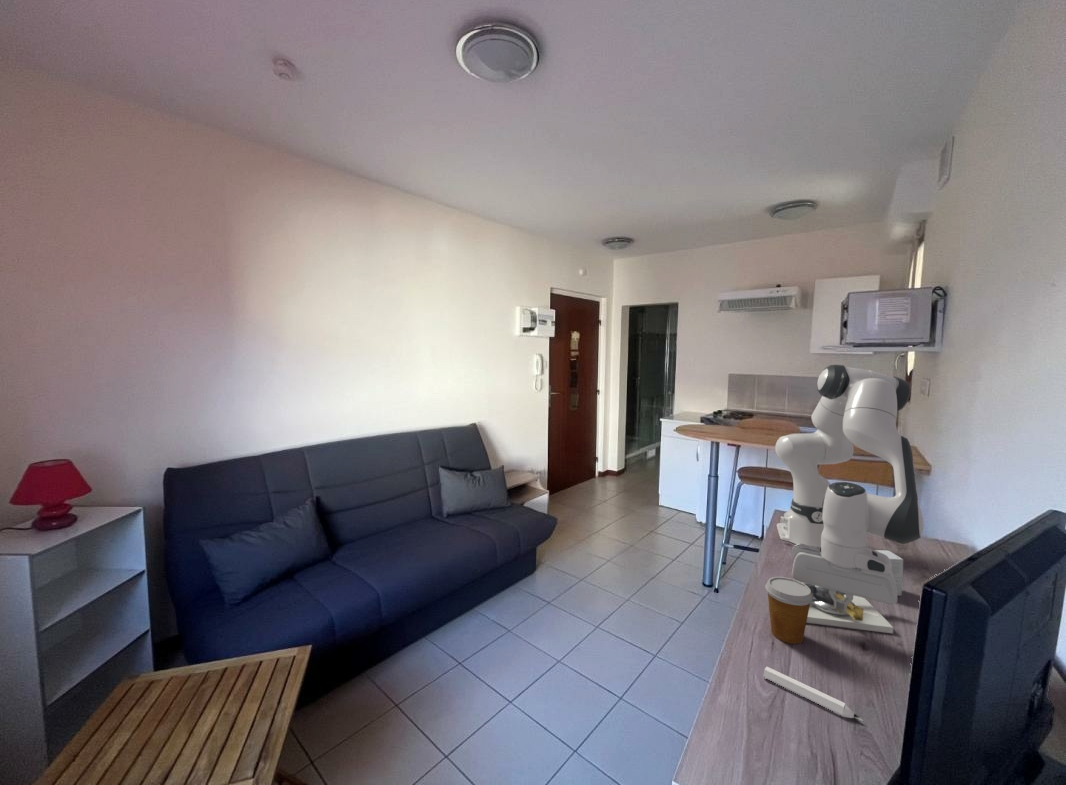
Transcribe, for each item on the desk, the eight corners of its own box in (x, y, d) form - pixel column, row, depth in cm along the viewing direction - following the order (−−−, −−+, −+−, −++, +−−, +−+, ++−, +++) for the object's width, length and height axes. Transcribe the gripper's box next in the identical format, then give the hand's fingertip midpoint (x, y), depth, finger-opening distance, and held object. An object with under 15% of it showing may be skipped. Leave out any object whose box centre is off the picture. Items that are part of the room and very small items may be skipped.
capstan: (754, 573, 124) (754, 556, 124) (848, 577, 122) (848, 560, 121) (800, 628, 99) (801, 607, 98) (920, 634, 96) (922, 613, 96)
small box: (887, 585, 121) (889, 550, 120) (902, 596, 116) (904, 559, 115) (857, 584, 122) (859, 548, 121) (870, 595, 116) (872, 557, 116)
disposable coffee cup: (819, 651, 94) (821, 599, 93) (772, 646, 95) (774, 595, 95) (800, 625, 103) (802, 577, 102) (758, 621, 105) (759, 574, 104)
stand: (774, 584, 122) (775, 572, 122) (854, 593, 117) (855, 580, 117) (798, 621, 104) (798, 607, 104) (893, 633, 100) (893, 618, 99)
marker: (863, 730, 75) (764, 680, 86) (865, 718, 76) (767, 671, 87) (862, 722, 74) (762, 673, 85) (864, 710, 75) (765, 664, 86)
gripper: (790, 546, 104) (788, 600, 105) (900, 569, 92) (896, 630, 93) (792, 537, 109) (790, 589, 110) (896, 558, 97) (893, 616, 98)
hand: (840, 608), depth 101 cm, fingers closed
